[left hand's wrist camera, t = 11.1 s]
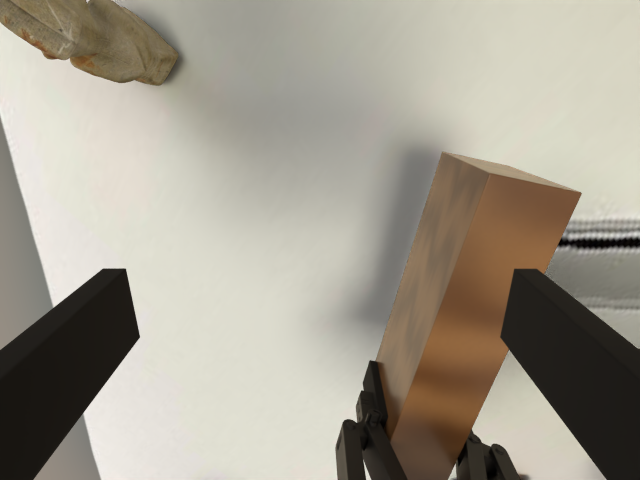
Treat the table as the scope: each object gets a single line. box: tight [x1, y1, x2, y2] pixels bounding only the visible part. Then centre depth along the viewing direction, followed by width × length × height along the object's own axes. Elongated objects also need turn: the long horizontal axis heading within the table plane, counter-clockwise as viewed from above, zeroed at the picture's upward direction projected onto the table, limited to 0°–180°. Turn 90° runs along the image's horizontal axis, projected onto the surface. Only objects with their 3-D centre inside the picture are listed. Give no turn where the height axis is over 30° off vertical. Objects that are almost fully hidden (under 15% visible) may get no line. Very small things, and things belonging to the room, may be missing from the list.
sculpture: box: [0, 0, 178, 86], centre depth 30 cm, size 6×7×15 cm
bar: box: [376, 152, 582, 480], centre depth 29 cm, size 24×5×9 cm, turn 168°
